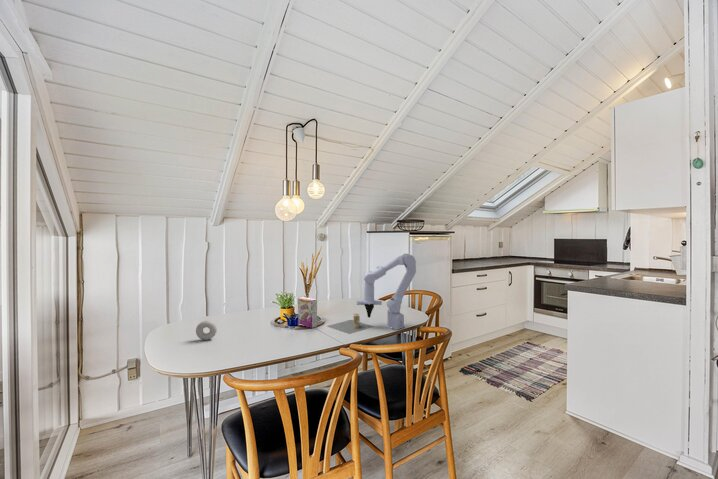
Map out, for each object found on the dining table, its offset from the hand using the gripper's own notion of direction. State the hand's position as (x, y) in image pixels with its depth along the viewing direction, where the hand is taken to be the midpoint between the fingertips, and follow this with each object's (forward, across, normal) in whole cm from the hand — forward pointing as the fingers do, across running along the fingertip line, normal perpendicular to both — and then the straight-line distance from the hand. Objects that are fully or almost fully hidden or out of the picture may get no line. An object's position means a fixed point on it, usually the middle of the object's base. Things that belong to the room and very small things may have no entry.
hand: (368, 317), depth 196 cm
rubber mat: (+6, -11, +1) cm, 12 cm away
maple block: (+6, -7, 0) cm, 9 cm away
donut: (+7, -86, -16) cm, 88 cm away
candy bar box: (+7, -36, +5) cm, 37 cm away
